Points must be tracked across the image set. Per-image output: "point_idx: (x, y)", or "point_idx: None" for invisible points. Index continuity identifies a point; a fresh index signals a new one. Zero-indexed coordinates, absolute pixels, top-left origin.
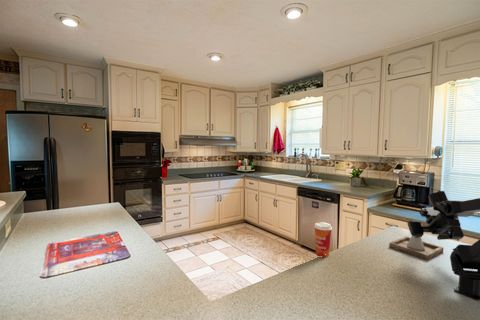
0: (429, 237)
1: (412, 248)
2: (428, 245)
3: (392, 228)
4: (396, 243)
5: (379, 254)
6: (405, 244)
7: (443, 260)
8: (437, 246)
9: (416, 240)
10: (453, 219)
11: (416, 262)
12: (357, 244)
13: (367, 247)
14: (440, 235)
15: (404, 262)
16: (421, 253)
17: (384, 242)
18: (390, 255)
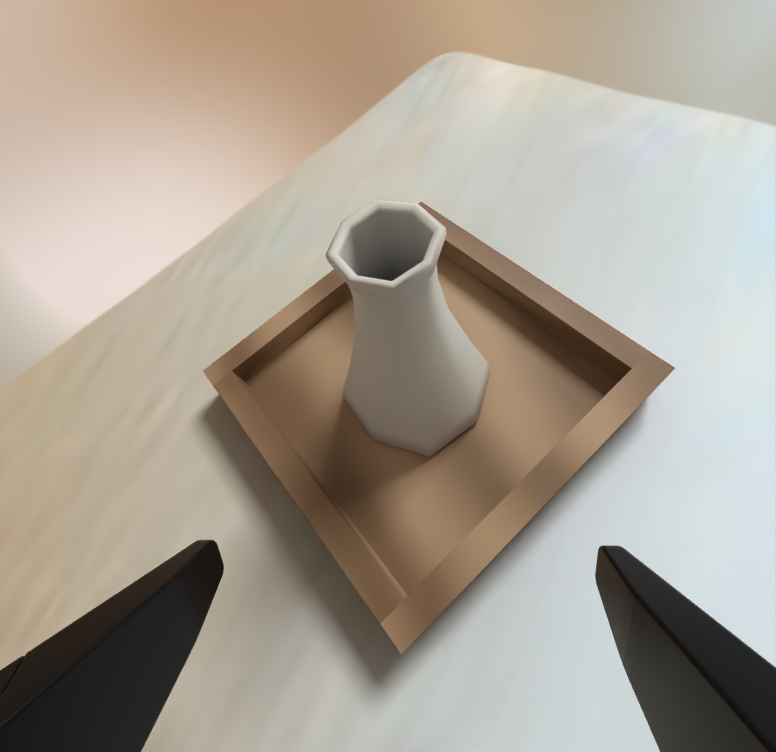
0: (636, 128)
1: (364, 426)
2: (547, 322)
3: (429, 68)
4: (285, 342)
5: (48, 570)
6: None
7: (578, 607)
8: (619, 354)
9: (385, 387)
10: None
11: (268, 721)
12: (20, 395)
13: (53, 436)
14: (682, 700)
15: (149, 742)
16: (360, 595)
17: (241, 307)
18: (126, 575)
